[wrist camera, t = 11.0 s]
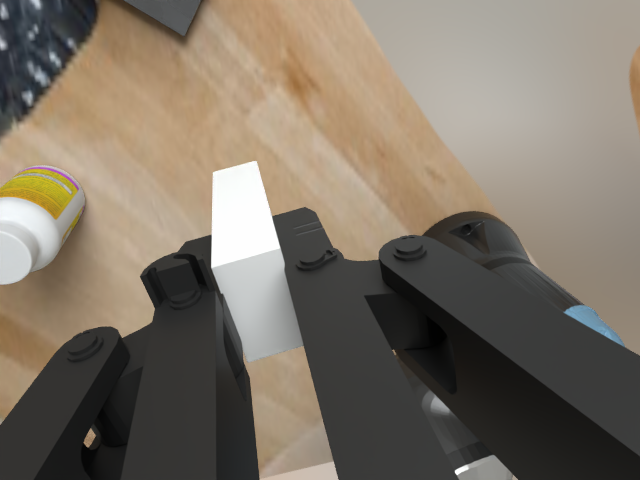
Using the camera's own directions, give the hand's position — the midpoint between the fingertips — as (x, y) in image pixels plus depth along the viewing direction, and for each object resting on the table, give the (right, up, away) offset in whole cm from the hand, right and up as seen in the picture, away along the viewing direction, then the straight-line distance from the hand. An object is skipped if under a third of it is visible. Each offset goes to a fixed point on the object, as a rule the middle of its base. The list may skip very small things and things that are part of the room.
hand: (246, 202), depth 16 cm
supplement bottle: (-24, +3, +29) cm, 38 cm away
